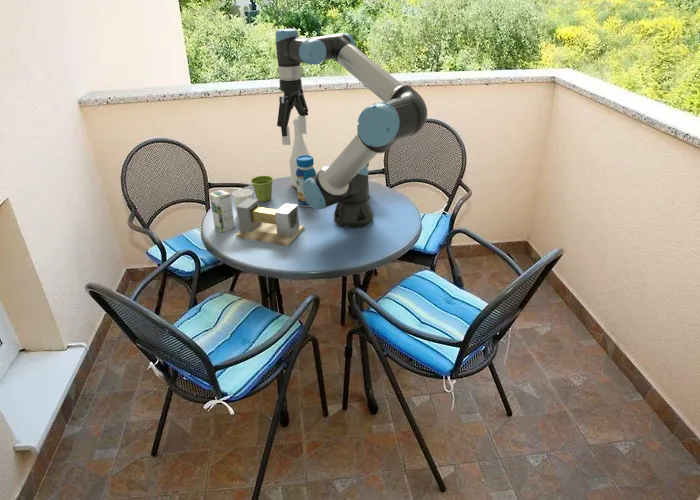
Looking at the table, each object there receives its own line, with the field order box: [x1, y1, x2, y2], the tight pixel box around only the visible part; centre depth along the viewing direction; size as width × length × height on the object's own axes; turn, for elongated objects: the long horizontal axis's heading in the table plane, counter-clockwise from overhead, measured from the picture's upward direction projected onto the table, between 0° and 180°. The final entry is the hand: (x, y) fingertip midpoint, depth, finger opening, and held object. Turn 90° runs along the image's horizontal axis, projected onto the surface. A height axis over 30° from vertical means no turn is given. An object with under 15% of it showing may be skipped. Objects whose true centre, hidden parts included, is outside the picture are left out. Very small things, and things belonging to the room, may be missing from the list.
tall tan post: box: [250, 206, 278, 224], centre depth 187 cm, size 14×4×4 cm, turn 70°
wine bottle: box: [289, 116, 311, 189], centre depth 222 cm, size 10×10×30 cm
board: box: [235, 222, 305, 247], centre depth 190 cm, size 21×14×1 cm, turn 70°
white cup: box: [231, 188, 254, 218], centre depth 201 cm, size 8×8×10 cm
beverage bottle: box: [296, 154, 317, 208], centre depth 207 cm, size 8×8×20 cm
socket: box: [236, 198, 261, 232], centre depth 190 cm, size 4×8×10 cm, turn 160°
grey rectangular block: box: [275, 202, 300, 239], centre depth 185 cm, size 5×8×10 cm, turn 160°
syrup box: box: [209, 189, 236, 234], centre depth 191 cm, size 6×6×14 cm
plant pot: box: [250, 175, 274, 202], centre depth 215 cm, size 9×9×9 cm
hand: (295, 139), depth 185 cm, fingers open, 13 cm apart
